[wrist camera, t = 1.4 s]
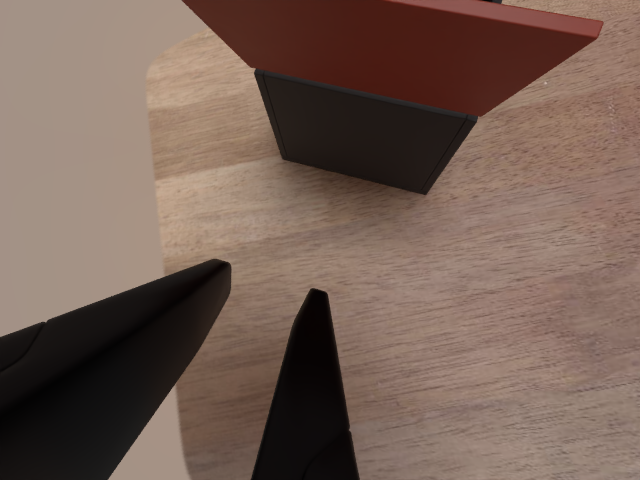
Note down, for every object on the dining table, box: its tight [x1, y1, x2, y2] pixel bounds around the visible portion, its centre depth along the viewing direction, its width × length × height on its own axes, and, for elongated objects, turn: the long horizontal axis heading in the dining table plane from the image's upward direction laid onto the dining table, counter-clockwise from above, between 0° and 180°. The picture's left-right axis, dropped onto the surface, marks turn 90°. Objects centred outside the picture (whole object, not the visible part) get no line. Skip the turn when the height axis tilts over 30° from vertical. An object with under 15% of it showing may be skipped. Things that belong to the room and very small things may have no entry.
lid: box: [182, 0, 603, 117], centre depth 11 cm, size 7×11×1 cm
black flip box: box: [254, 0, 502, 195], centre depth 20 cm, size 15×11×9 cm
